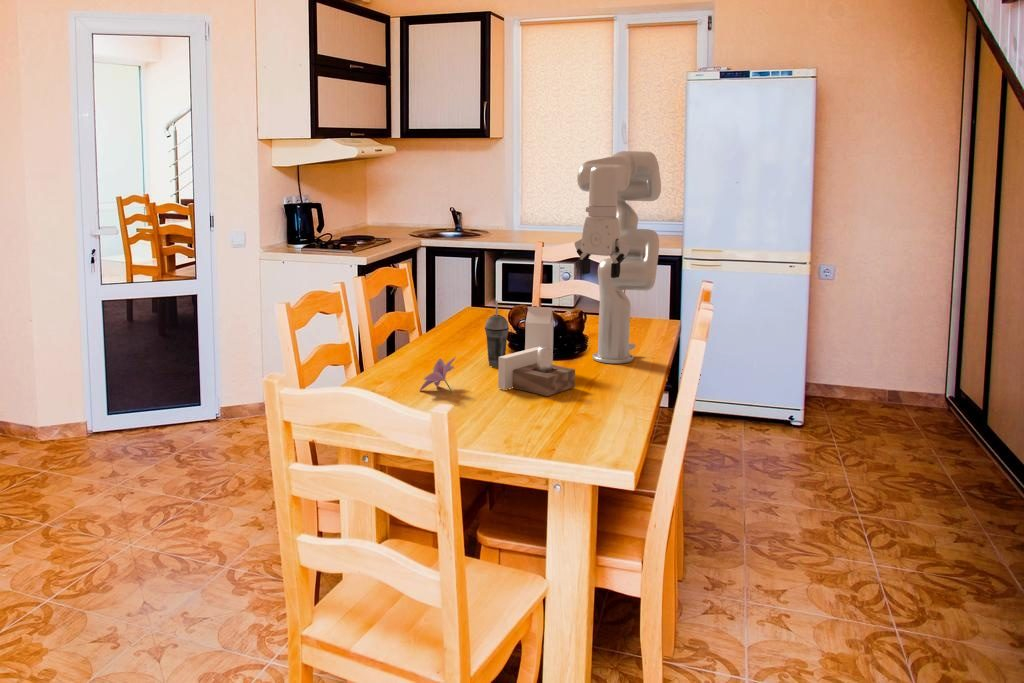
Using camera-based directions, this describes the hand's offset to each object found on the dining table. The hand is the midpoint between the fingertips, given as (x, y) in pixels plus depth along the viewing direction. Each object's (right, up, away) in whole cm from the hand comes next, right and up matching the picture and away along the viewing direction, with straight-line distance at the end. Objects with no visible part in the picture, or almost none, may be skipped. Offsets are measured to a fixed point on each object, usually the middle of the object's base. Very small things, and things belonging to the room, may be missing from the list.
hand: (600, 275), depth 244 cm
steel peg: (-15, -30, 0) cm, 33 cm away
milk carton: (-16, -27, +19) cm, 36 cm away
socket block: (-15, -31, 0) cm, 35 cm away
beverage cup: (-29, -26, +24) cm, 45 cm away
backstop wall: (-21, -30, +5) cm, 37 cm away
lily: (-44, -32, -3) cm, 54 cm away
